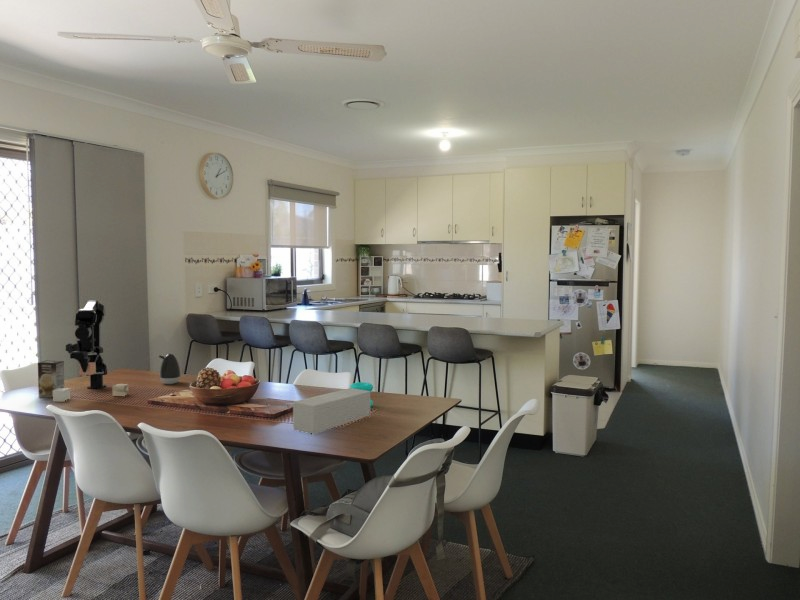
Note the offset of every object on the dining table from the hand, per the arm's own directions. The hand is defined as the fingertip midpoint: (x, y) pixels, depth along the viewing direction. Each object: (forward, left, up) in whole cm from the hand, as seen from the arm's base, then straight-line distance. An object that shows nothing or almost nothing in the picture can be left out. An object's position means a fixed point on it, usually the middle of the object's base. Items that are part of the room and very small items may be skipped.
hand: (87, 371), depth 288 cm
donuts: (+15, +126, -12) cm, 127 cm away
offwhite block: (+6, -9, -12) cm, 16 cm away
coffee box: (-2, -18, -12) cm, 22 cm away
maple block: (-4, +13, -12) cm, 18 cm away
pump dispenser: (-33, +25, -12) cm, 43 cm away
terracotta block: (0, 0, -1) cm, 1 cm away
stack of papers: (+42, +117, -12) cm, 125 cm away
